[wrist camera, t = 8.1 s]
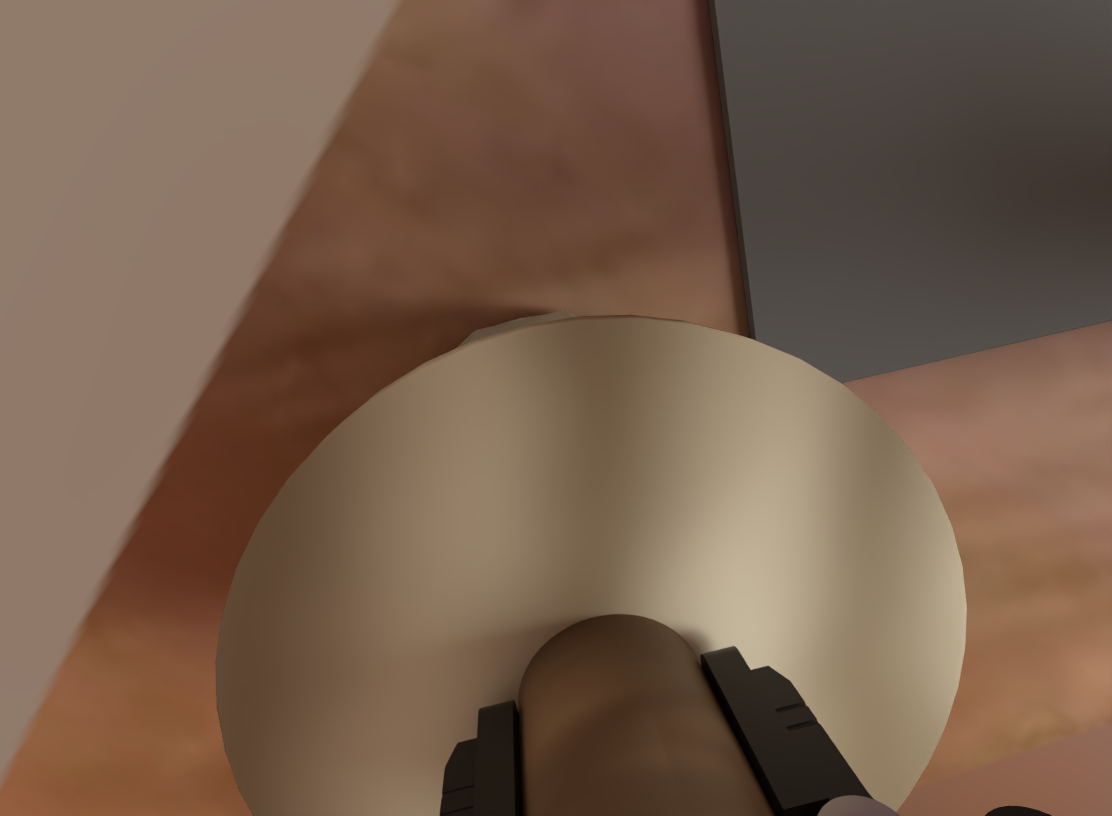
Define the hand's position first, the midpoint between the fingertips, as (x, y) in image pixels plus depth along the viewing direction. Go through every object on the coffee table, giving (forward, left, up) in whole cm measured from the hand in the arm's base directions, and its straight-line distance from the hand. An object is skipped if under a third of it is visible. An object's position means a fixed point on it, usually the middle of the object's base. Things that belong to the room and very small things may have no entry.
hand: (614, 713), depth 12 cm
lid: (0, 0, -1) cm, 1 cm away
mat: (-19, -10, -15) cm, 26 cm away
